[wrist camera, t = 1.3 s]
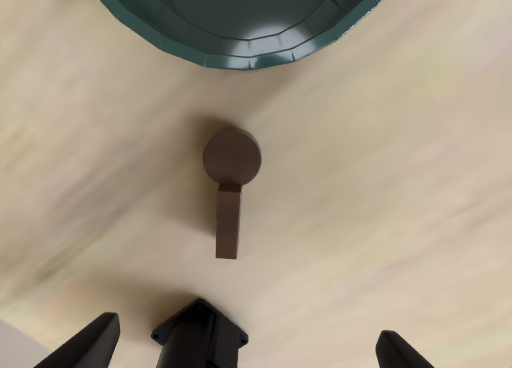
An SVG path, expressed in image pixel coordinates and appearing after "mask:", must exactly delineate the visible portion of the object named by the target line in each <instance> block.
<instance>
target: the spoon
mask: <svg viewBox="0 0 512 368" xmlns="http://www.w3.org/2000/svg"><path fill="white" fill-rule="evenodd" d="M203 164H204V167H205V170H206V172H207V173H208V175H209V176H210V177H211V178H212V179H213V180H214V181H216V182H217V183H219V184H220V185H219V188H218V192H217V226H216V258H224V259H237V252H238V241H239V227H240V212H241V197H242V185H245V184H247V183H249V182H250V181H251V180H253V179H254V178H255V176H256V175H257V174H258V172H259V170H260V167H261V150H260V147H259V144H258V143H257V141H256V140H255V138H254V137H253V136H252V135H250V134H249V133H248V132H246V131H244V130H241V129H237V128H228V129H223V130H221V131H219V132H217V133H216V134H214V135H213V136H212V137H211V139H210V140H209V141H208V143H207V145H206V146H205V149H204V152H203Z"/></svg>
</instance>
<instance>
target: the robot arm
mask: <svg viewBox="0 0 512 368" xmlns="http://www.w3.org/2000/svg"><path fill="white" fill-rule="evenodd" d="M199 304H201V305H199ZM119 336H120V324H119V316H118V314H117V313H113V312H105V313H103V314H101V315H100V316H99V317H97V318H96V319H95V320H94V321H92V322H91V323H90V324H88V325H87V326H86V327H85V328H83V329H82V330H81V331H80V332H78V333H77V334H76V335H74V336H73V337H72V338H71V339H69V340H68V341H67V342H65V343H64V344H63V345H62V346H60V347H59V348H58V349H57V350H55V351H54V352H53V353H51V354H50V355H49V356H48V357H46V358H45V359H44V360H42V361H41V362H40V363H39V364H37V365H36V366H35V367H34V368H108V366H109V363H110V360H111V358H112V355H113V352H114V350H115V347H116V344H117V342H118V339H119ZM151 338H152V339H153V340H155V341H156V342H158V343H159V344H160V345H162V346H163V348H162V351H161V354H160V357H159V360H158V363H157V366H156V368H237V361H238V349H239V348H241V347H242V346H244V345H246V344H247V343H248V335H247V334H246V333H245V332H243V331H242V330H241V329H240V328H239V327H237V326H236V325H235V324H234V323H233V322H231V321H230V320H229V319H228V318H226V317H225V316H224V315H223V314H222V313H220V312H219V311H218V310H217V309H215V308H214V307H213V306H212V305H211V304H209V303H208V302H207V301H206V300H204V299H197V300H195V301H194V302H193V303H191V304H190V305H188V306H187V307H185V308H184V309H182V310H181V311H180V312H178V313H177V314H175V315H174V316H172V317H171V318H170V319H168V320H167V321H165V322H164V323H162V324H161V325H160V326H158V327H157V328H155V329H154V330H153V331H152V334H151ZM376 356H377V359H378V363H379V367H380V368H435V367H433V366H432V365H431V364H430V363H429V362H428V361H427V360H426V359H425V358H424V357H423V356H421V355H420V354H419V353H418V352H417V351H416V350H415V349H414V348H413V347H412V346H411V345H410V344H408V343H407V342H406V341H405V340H404V339H403V338H402V337H401V336H400V335H399V334H398V333H396V332H395V331H390V330H383V331H382V332H381V334H380V336H379V339H378V341H377V344H376Z"/></svg>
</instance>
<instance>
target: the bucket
mask: <svg viewBox="0 0 512 368" xmlns="http://www.w3.org/2000/svg"><path fill="white" fill-rule="evenodd" d="M100 1H101V2H102V3H103V4H104V5H105V6H106V8H107V9H108V10H109V11H110V12H111V13H112V14H113V15H114V16H115V18H116V19H118V20H119V21H120V22H121V23H123V24H124V25H126V26H127V27H128V28H130V29H131V30H133V31H134V32H135V33H137V34H138V35H140V36H141V37H143V38H144V39H145V40H147V41H148V42H150V43H151V44H152V45H154V46H155V47H157V48H158V49H160V50H162V51H164V52H166V53H169V54H172V55H174V56H177V57H180V58H182V59H185V60H187V61H190V62H193V63H195V64H198V65H201V66H203V67H207V68H214V69H220V70H228V71H239V72H257V71H262V70H267V69H272V68H277V67H281V66H284V65H287V64H291V63H293V62H296V61H298V60H300V59H302V58H304V57H306V56H308V55H310V54H312V53H314V52H316V51H318V50H320V49H322V48H324V47H326V46H328V45H330V44H332V43H334V42H336V41H337V40H339V39H340V38H341V37H342V36H343V35H344V34H346V33H347V32H348V31H349V30H350V29H351V28H352V27H354V26H355V25H356V24H357V23H358V22H359V21H360V20H362V19H363V18H364V17H365V16H366V15H367V14H368V13H370V12H371V11H372V10H373V9H374V8H375V7H376V6H377V5H378V4H379V3H380V2H381V0H100Z"/></svg>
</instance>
